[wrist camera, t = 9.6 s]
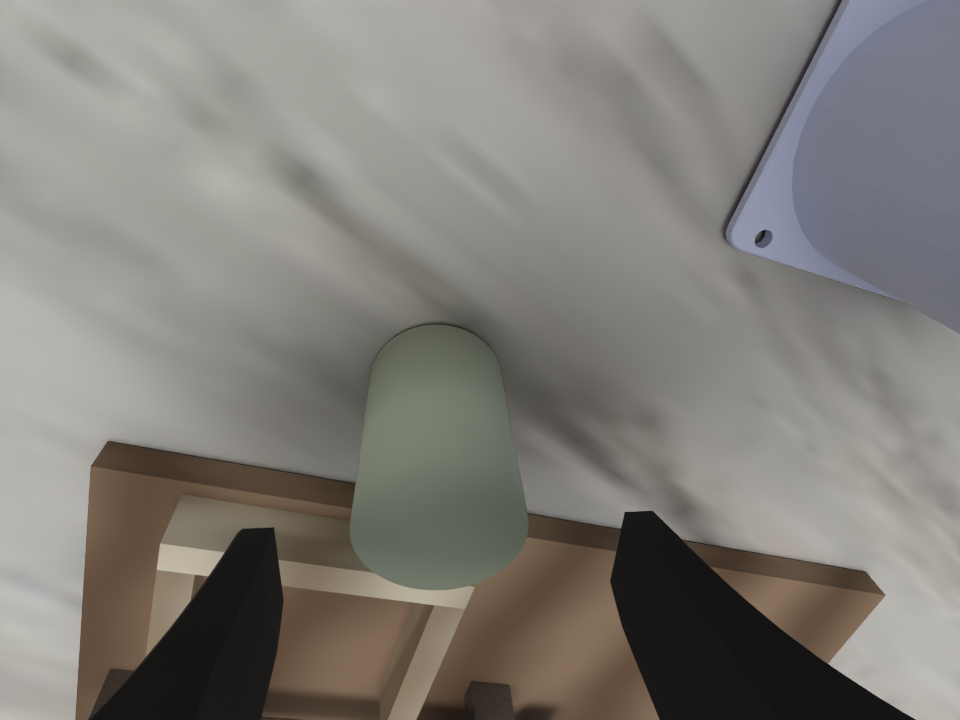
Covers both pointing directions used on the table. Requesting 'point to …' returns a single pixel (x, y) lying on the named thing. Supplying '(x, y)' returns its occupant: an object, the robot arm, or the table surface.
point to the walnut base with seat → (398, 600)
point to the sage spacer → (437, 464)
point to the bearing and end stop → (482, 700)
